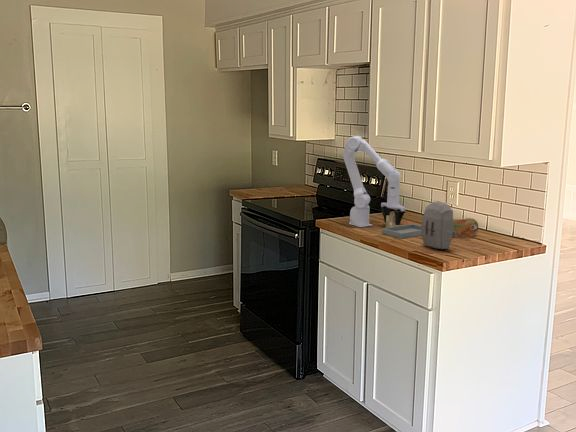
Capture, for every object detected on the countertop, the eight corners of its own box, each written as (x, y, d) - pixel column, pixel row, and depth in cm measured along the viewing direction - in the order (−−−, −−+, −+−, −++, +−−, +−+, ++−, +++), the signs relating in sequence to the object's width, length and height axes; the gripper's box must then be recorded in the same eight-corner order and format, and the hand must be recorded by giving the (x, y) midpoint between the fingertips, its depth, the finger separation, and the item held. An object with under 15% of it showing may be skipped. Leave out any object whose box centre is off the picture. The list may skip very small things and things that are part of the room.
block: (385, 227, 278) (386, 215, 277) (391, 226, 280) (392, 214, 279) (391, 229, 274) (392, 216, 273) (397, 228, 277) (398, 216, 275)
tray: (382, 233, 264) (382, 228, 264) (412, 228, 275) (412, 223, 275) (400, 238, 255) (400, 233, 254) (431, 233, 266) (431, 228, 265)
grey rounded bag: (455, 250, 235) (458, 203, 231) (440, 253, 231) (443, 204, 227) (429, 242, 248) (432, 197, 244) (414, 245, 244) (417, 199, 240)
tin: (449, 238, 258) (450, 219, 256) (445, 236, 261) (446, 218, 259) (478, 236, 262) (479, 218, 260) (474, 234, 265) (475, 217, 263)
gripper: (410, 197, 270) (408, 225, 273) (388, 193, 282) (387, 220, 285) (399, 198, 266) (398, 226, 269) (378, 194, 278) (377, 221, 281)
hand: (392, 223), depth 277 cm, fingers open, 7 cm apart
